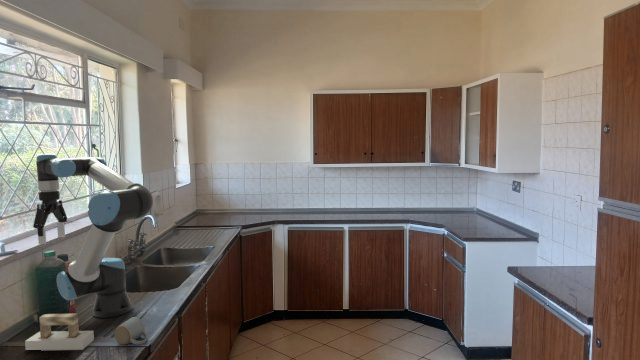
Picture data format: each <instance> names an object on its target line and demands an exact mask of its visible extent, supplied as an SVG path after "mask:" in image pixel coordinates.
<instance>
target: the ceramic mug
mask: <svg viewBox="0 0 640 360" xmlns="http://www.w3.org/2000/svg"><path fill="white" fill-rule="evenodd" d="M145 331H146V325H145V324H144V322H143V321H142V319H140V318H139V317H136V316H133V317H130V318H128V319H127V320H126V321H124V322H123V323H120V324H119V325H118V326H117V327H116V328H115V329H114V333H113V335H114V339H115V340H116V342H117V343H118V344H120V345H123V346H124V345H128V344H130V343H132V344H134V345H143V344H145V343H146V342H147V340H148V335H147V333H146V332H145ZM142 336H143V337H144V339H143V340H137V339H139V338H141V337H142Z"/></svg>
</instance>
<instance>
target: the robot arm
mask: <svg viewBox="0 0 640 360" xmlns="http://www.w3.org/2000/svg"><path fill="white" fill-rule="evenodd" d="M105 160H106V159H104V158H103V157H98V156H97V157H96V156H93V157H74V158H73V157H72V158H71V157H69V158H68V157H67V158H63V157H62V158H58V155H57V154H56V153H41V154H37V155H36V163H35V164H36V173H37V185H38V186H37V188H38V199H39V201H41V203H37V204H36V211H35V217H34V221H33V226H32V228H33V229H35V230H36V229H37V238H38V239H37V241H38V245H47V233H46V227H45V225H46V223H47V220H48V218H49V215H50V214H52V215H53V216H54V218H55V219H56V220H57V222H56V227H57V238H65V237H66V229H65V228H66V227H65V223H66V222H67V221H68V217H67V213H66V211H65V208H64V205H63V200H61V199H60V198H61V197H60V196H61V195H60V191H59V189H60V180H59V178H68V177H78V176H79V177H80V176H84V177H85V176H87V177H89V178H91V179H92V180H93V181H96V182H97V183H98V184H100V185H101V186H103V188H105V189H107V190H105V191H102V192H98V193H95V194H94V195H92V196H91V198H90V200H89V202H88V206H87V209H88V210H87V215H88V218H89V221H90V223H91V226H90V228H89V231H88V234H87V235H86V237H85V240H84V242H83V244H82V246H81V249H80V250H79V253H78V256H77V258H76V259H75V260H73V261H72V262H70V263H69V265H68V267H67V269H66V270H62V271H60V272H59V273H57V276H56V287H57V289H58V292H59V294H60V296H61V297H62V298H63V299H64V300H67V301H72V300H77V299H79V298H84V297H86V296H90V295H92V294H96V295H95V300H94V304H93V308H92V315H93V316H94V318H101V319H103V318H104V319H105V318H114V317H118V316H122V315H125V314H127V313H129V312H130V311H132V303H131V300H130V297H129V295H128V292H127V285H126V267H125V261H124V260H123V259H122V258H119V257H104V256H105V255H106V253H107V251H108V249H109V246H110V245H111V243H112V240H113V239H114V237H115V234H116V233H117V232H118V233H119V231H121V230H122V229H123V227H124V226H125V224H126V222H127V221H132V220H139V219H142V218H144V217H146V216H147V215H148V214H149V213H150V212H151V211H152V208H153V205H154V199H153V195H152V193H151V192H150V190H149V189H148V188H147V187H145V186H144V185H142V184H141V183H138V182H137V183H135V182H133V181H131V180H130V179H128V178H126V177H125V176H123V175H121V173H118V172H117V171H115V170H114V169H112V168H110V167H108V166H107V162H106V161H105Z"/></svg>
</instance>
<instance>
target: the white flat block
mask: <svg viewBox="0 0 640 360" xmlns="http://www.w3.org/2000/svg"><path fill="white" fill-rule="evenodd" d="M94 340H95V335H94V330H79V336H77V337H76V338H69V333H68V330H66V331H65V330H60V331H59V330H56V331H55V330H54V331H52V330H51V336H50V337H49V338H47V339H41V334H40V331H38V332H36V333H35V334H33V335H32V336H30V337H29V338H27V339H26V340H25V341H24V344H25V345H24V346H25V351H26V350H41V351H81V350H82V351H83V350H84V349H86V347H88V346H89V345H90V344H91V343H92V342H94Z"/></svg>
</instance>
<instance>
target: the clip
mask: <svg viewBox="0 0 640 360" xmlns="http://www.w3.org/2000/svg"><path fill="white" fill-rule="evenodd" d="M78 315H79V314H78V313H45V314H42V315H41V316H39V317H38V318H39V332H40V334H41V339H47V338H49V337H50V336H51V331H52V326H67V328H68V329H67V331H68V333H69V338H76V337H77V336H79V331H80V330H79V327H80V326H79V316H78Z"/></svg>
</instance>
